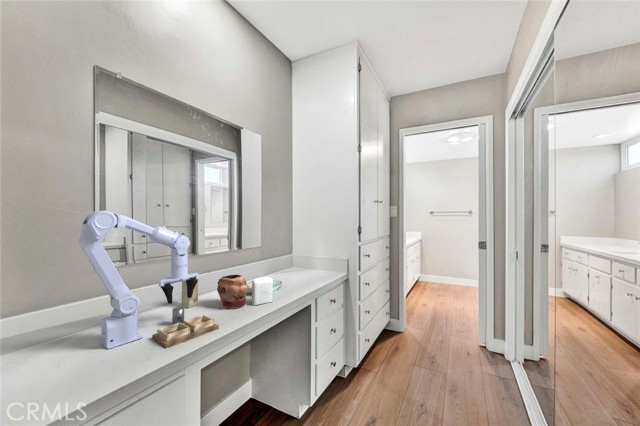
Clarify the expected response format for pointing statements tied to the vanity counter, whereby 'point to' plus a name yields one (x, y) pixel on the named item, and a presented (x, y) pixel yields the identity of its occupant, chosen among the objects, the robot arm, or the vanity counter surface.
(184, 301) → the skincare box
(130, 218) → the robot arm
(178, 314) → the grey metal peg
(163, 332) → the socket board
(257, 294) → the photo printer
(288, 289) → the vanity counter surface
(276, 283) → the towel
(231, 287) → the decorative planter
